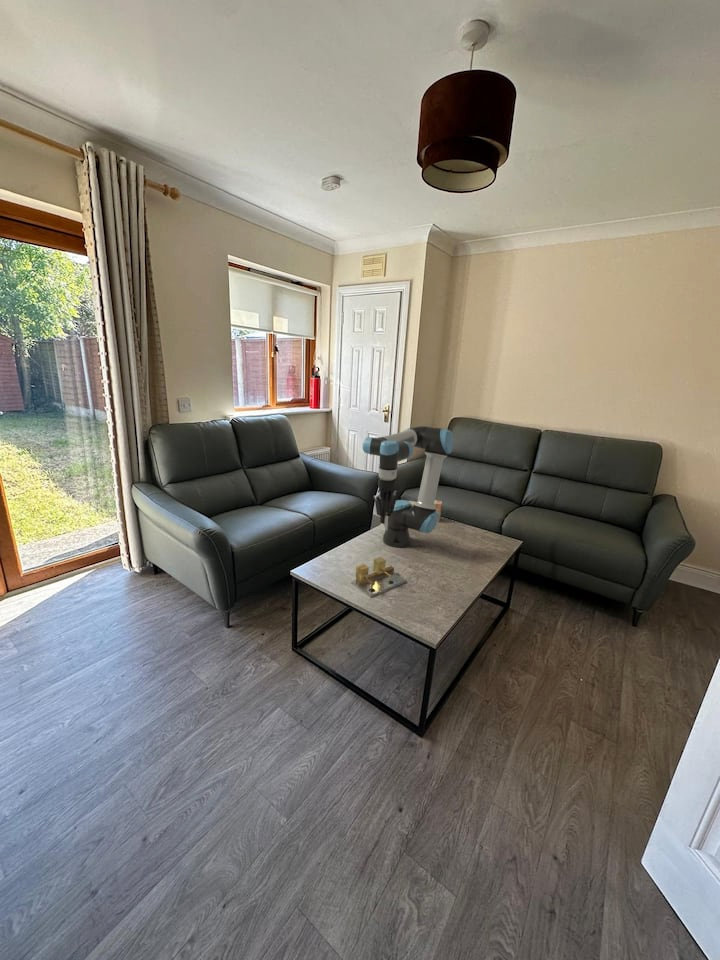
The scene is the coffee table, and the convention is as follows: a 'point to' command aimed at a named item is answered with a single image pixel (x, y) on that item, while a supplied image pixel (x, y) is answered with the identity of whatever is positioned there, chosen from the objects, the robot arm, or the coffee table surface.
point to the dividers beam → (364, 577)
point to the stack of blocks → (437, 505)
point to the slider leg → (380, 566)
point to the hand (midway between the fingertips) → (383, 529)
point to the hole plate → (380, 584)
